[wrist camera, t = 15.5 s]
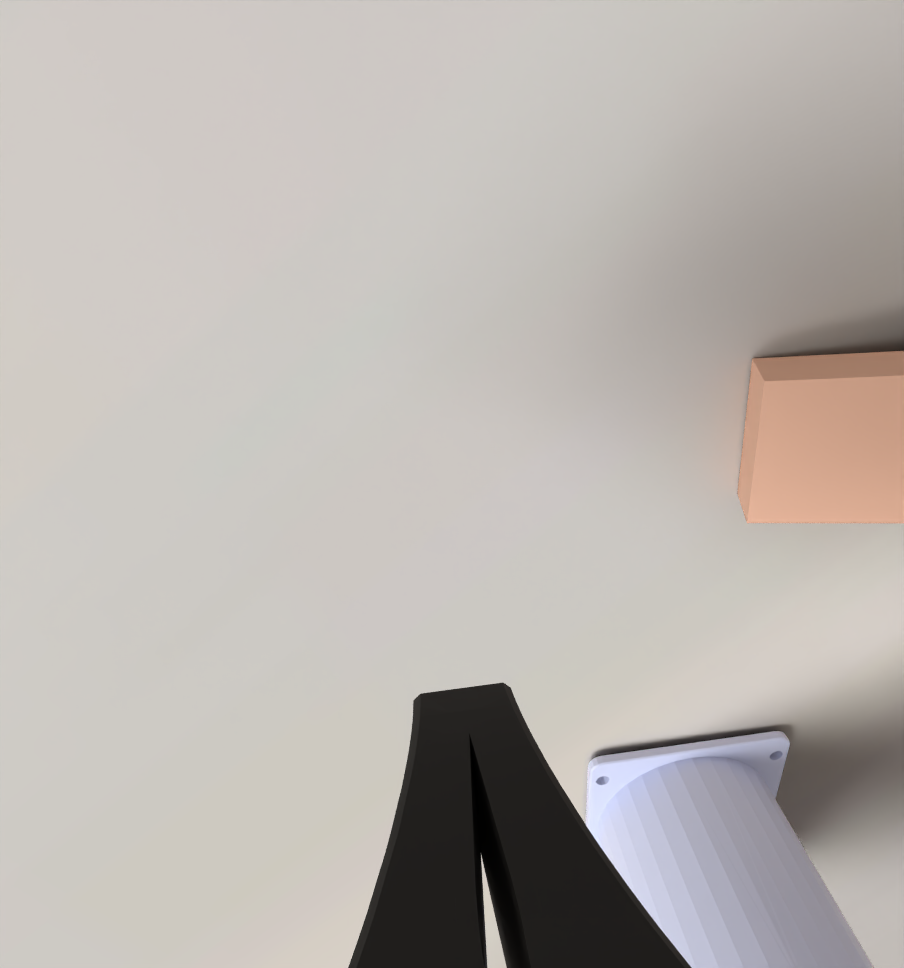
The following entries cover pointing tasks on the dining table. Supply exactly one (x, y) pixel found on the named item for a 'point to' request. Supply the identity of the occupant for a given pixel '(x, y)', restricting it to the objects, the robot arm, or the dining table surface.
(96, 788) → the dining table surface
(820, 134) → the dining table surface
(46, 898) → the dining table surface
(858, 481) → the domino
